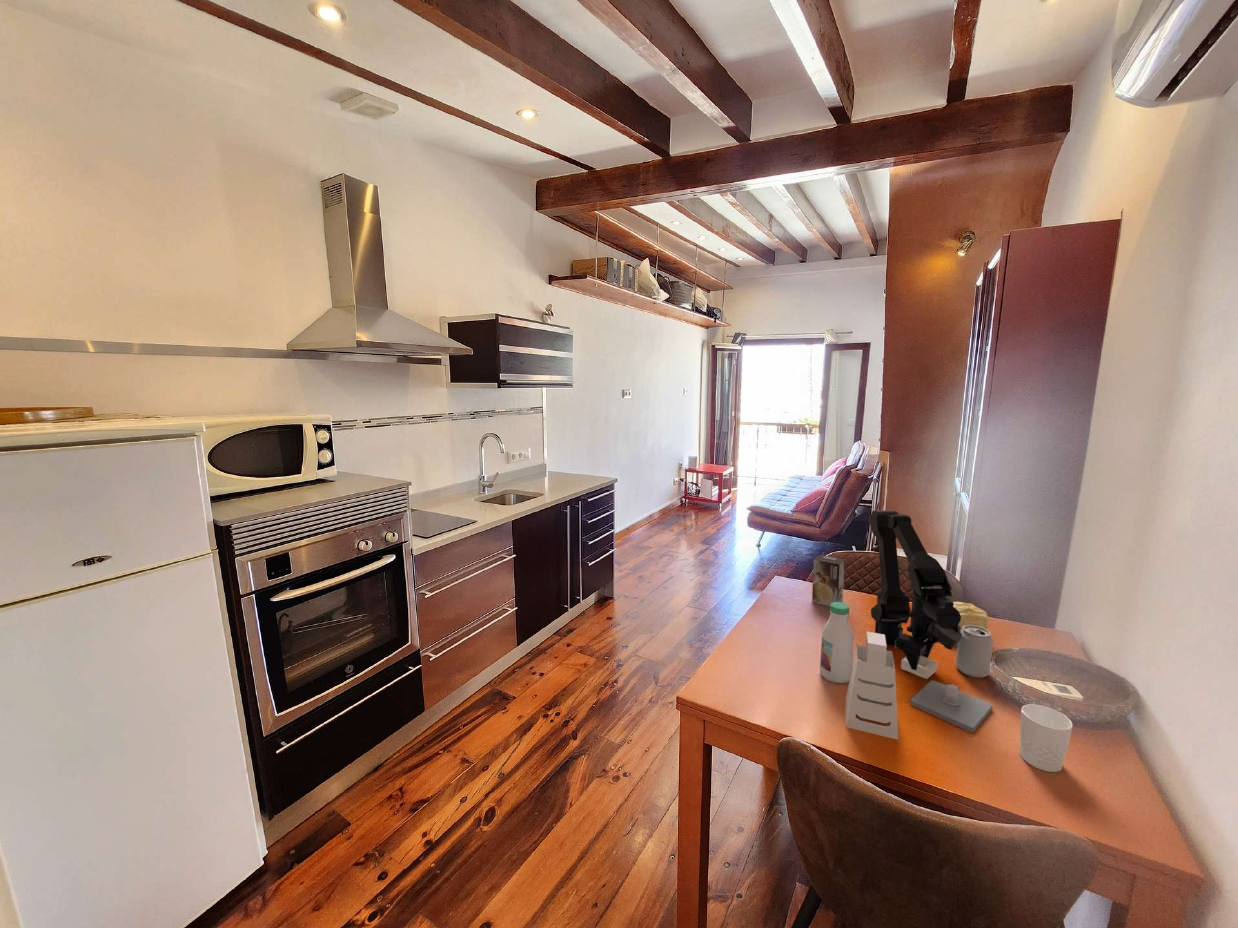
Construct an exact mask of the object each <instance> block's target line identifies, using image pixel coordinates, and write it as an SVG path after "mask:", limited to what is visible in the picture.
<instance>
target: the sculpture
mask: <svg viewBox="0 0 1238 928" xmlns="http://www.w3.org/2000/svg"><path fill="white" fill-rule="evenodd" d="M952 602H953V603H954V605H953V607H954V608H956V609H957V610H958V611H959V613H960V616H961V620H960V622H959V624H958V625H959V626H961V630H962V628H963V626H965V625H974V626H979V627H982V628H985V629H987V630H988V624H989V620H990V619H989V617H988V613H987V612H986V611H985V610H983V609H981V608H979V607H977V606H976V605H974V604H973V603H967V602H962V601H952Z"/></svg>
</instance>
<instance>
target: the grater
mask: <svg viewBox="0 0 1238 928" xmlns="http://www.w3.org/2000/svg"><path fill="white" fill-rule="evenodd" d="M865 637H866V638H865V646H863V645H858V644H857V645H856V649H855V653H854V656H853V663H852V672H851V677H850V681H849V682H848V686H847V691H846V697H845V728H848V729H852V730H858V731H862V732H865V733H870V734H874V735H877V736H882V737H886V738H890V739H893V740H899V727H898V725H899V723H898V706H897V704H898V703H897V702H898V701H897V684H896V683H897V682H896V681H897V680H896V668H895V660H894V653H893V651H892V650H887V647H888V646H887V644H886V639H885V635H884V634H878V633H875V632H872V631H866V636H865ZM857 716H858V717H859V718H860V719H861V718H862V719H865V720H869V722H868V721H864V720H860V719H859V718H857ZM870 721H873V722H878V723H883V724H889V723H890V725H886V726H885V725H882V724H877V723H872V722H870Z"/></svg>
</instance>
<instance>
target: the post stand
mask: <svg viewBox="0 0 1238 928" xmlns="http://www.w3.org/2000/svg"><path fill="white" fill-rule="evenodd" d="M909 705H911V706H913V707H915V708H917V709H920V710H921V711H923V712H925V713H927V714H930V715H932V716H934V717H936V718H939V719H940V720H943V721H945V722H948V723H949V724H952V725H954V726H956V727H958V728H960V729H961V730H962V729H963V730H965V731H966V732H968V733H972V734H973V733H974V732H975V731H976V730H977V728H978V727H979V726H980V725H981V724H982V722H983V721H985V719H986V718H987V716H988V715H989V714H990V712H992V710H993V706H994V705H993V704H992V703H990V702H987V701H985V700H982V699H979V698H977V697H975V696H972V695H970V694H968V693H965V692H963V691H960V688H959V687H958V686H957V685H955V684H952V683H948V684H943V683H940V682H938V681H936V680H933V679H931V680H930V681H929V682H928V683H927V684H926V685H924V687H923V688H921V690H919V691H918V692H917V693H916V694H915V695H914V696H913V697H912V698H911V699H910V700H909Z"/></svg>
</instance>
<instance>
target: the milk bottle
mask: <svg viewBox="0 0 1238 928" xmlns="http://www.w3.org/2000/svg"><path fill="white" fill-rule="evenodd" d="M829 613H830V615H829V617H828V620H827V622H826V623H825V625H824V627H823V629H822V633H821V634H822V635H821V646H820V648H821V649H820V664H819V672H820V675H821V676H822V677H823V678H824V679H825V680H827V681H828V682H830V683H836V684H846V683H849V682H850V677H851V672H852V667H853V662H854V645H855V644H854V640H855V639H854V632H853V629H852V627H851V624H850V622H849V616H850V606H849V605H848V604H846V603H845V602H843V603H841V602H833V603H831V604H830V607H829Z"/></svg>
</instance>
